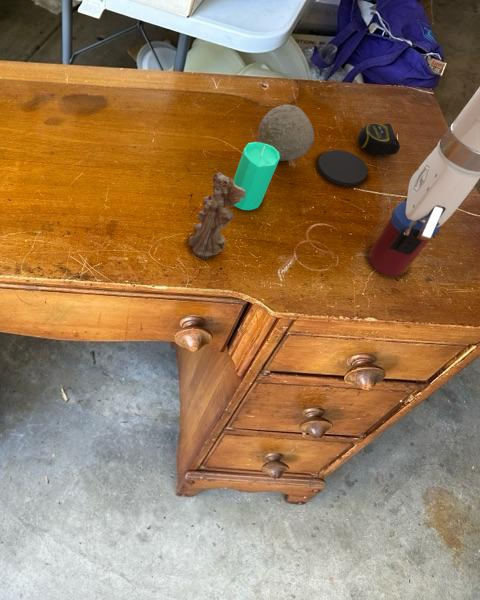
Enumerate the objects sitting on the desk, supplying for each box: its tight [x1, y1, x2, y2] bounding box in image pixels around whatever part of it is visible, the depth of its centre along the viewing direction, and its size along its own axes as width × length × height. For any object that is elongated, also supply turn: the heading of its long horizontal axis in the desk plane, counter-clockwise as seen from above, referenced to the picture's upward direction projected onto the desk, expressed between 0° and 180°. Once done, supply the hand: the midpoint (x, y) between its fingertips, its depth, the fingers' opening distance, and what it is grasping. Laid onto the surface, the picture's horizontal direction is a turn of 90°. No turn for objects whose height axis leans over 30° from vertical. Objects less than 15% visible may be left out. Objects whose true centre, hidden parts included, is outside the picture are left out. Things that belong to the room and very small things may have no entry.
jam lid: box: [390, 200, 443, 238], centre depth 87 cm, size 7×7×2 cm
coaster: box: [317, 149, 368, 187], centre depth 108 cm, size 9×9×1 cm
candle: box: [233, 141, 280, 211], centre depth 98 cm, size 6×6×12 cm
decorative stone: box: [257, 103, 315, 162], centre depth 105 cm, size 10×8×10 cm
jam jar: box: [367, 218, 432, 277], centre depth 91 cm, size 6×6×10 cm
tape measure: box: [357, 122, 401, 157], centre depth 110 cm, size 7×7×4 cm
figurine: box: [188, 171, 246, 259], centre depth 90 cm, size 7×6×15 cm
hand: (402, 233), depth 90 cm, fingers closed on jam lid, 6 cm apart
